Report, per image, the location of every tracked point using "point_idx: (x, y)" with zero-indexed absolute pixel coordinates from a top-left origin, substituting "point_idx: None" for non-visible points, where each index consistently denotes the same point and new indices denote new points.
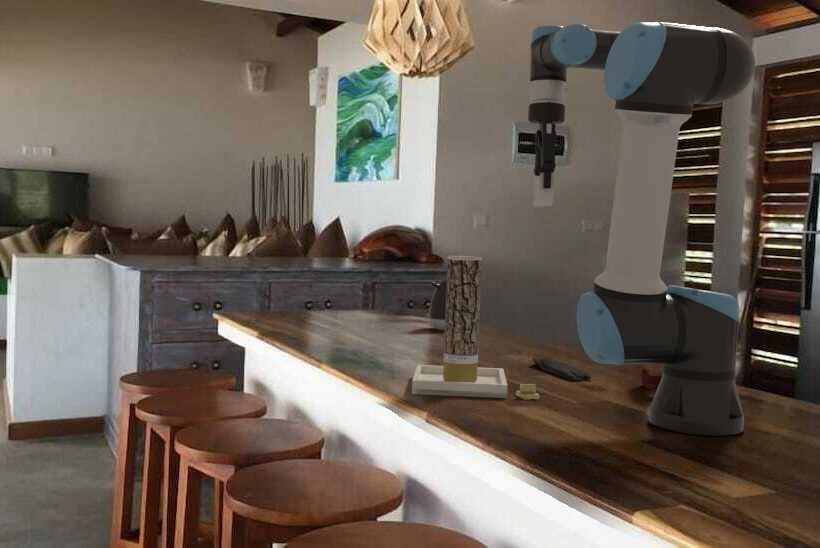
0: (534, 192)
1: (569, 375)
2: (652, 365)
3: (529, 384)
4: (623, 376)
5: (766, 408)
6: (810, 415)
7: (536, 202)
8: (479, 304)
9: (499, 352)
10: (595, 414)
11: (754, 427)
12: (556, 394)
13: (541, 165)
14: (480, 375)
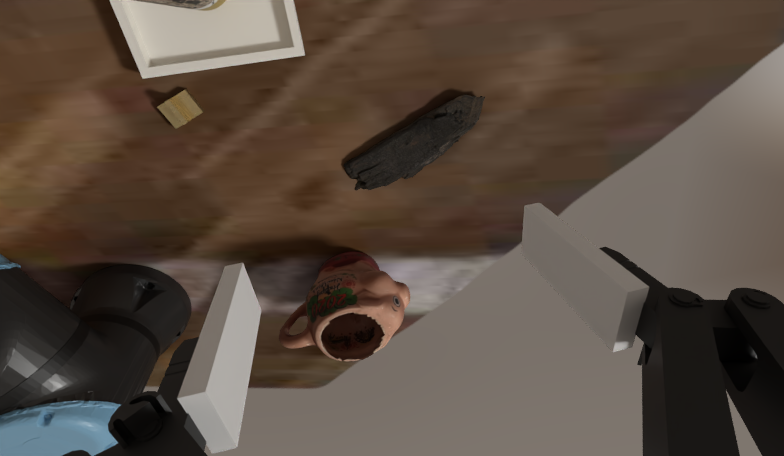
0: (561, 237)
1: (352, 162)
2: (316, 280)
3: (176, 114)
4: (413, 227)
5: (278, 358)
6: (263, 386)
7: (532, 224)
8: (147, 2)
9: (588, 20)
10: (121, 206)
11: (169, 349)
12: (231, 149)
13: (169, 452)
14: (285, 10)
